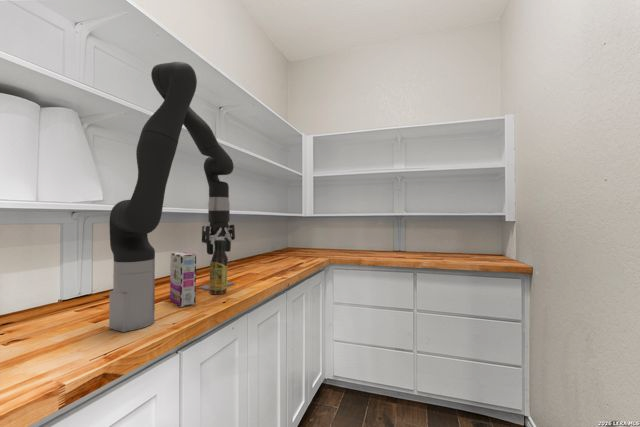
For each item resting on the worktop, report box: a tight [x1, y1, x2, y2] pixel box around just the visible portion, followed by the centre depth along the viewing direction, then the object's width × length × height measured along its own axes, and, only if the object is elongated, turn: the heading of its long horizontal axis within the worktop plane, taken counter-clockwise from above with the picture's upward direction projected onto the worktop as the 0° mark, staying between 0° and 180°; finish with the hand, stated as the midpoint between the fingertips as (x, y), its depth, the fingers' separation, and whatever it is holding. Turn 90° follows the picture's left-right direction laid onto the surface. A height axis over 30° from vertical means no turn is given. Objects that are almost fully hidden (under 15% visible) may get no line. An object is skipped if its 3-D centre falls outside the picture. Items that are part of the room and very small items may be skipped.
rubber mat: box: [197, 281, 235, 292], centre depth 117 cm, size 12×8×1 cm, turn 155°
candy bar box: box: [169, 251, 197, 308], centre depth 95 cm, size 11×5×16 cm, turn 44°
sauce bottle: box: [209, 239, 229, 295], centre depth 107 cm, size 7×6×20 cm
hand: (219, 252), depth 107 cm, fingers open, 8 cm apart
